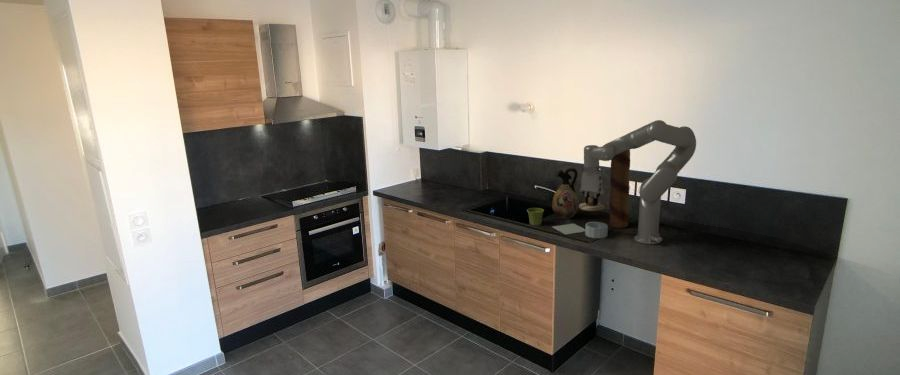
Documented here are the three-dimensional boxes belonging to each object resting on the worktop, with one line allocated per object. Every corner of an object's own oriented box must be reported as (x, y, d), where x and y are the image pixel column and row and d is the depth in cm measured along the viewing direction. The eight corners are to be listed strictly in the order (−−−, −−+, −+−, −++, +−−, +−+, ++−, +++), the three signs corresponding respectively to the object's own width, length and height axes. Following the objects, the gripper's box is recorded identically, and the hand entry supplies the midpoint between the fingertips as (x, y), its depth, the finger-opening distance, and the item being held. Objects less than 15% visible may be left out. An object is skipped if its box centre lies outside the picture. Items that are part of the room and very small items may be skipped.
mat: (588, 232, 264) (588, 230, 264) (565, 235, 260) (565, 234, 260) (573, 224, 277) (573, 223, 277) (551, 228, 273) (551, 226, 273)
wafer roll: (603, 224, 277) (607, 143, 267) (619, 221, 280) (623, 142, 270) (615, 229, 267) (619, 146, 257) (631, 226, 270) (636, 144, 260)
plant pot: (524, 226, 278) (524, 211, 276) (530, 221, 286) (530, 207, 284) (540, 228, 273) (541, 213, 271) (545, 223, 281) (546, 208, 279)
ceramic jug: (551, 221, 285) (552, 170, 278) (551, 213, 300) (552, 164, 293) (582, 221, 282) (584, 170, 275) (580, 214, 297) (581, 164, 290)
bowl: (611, 237, 255) (611, 226, 253) (593, 240, 251) (593, 229, 250) (598, 231, 265) (599, 220, 263) (581, 234, 261) (581, 223, 260)
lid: (609, 208, 253) (609, 197, 252) (588, 212, 249) (588, 201, 248) (594, 203, 265) (594, 193, 263) (574, 206, 261) (574, 196, 260)
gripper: (610, 169, 249) (610, 205, 253) (580, 167, 261) (581, 201, 265) (603, 172, 244) (603, 208, 248) (573, 169, 256) (573, 204, 260)
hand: (591, 204), depth 256 cm, fingers closed on lid, 3 cm apart
